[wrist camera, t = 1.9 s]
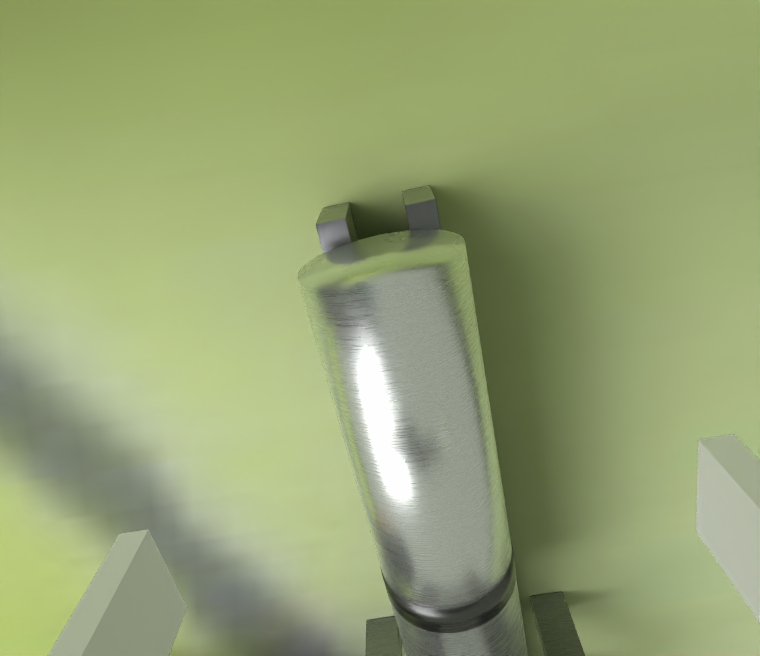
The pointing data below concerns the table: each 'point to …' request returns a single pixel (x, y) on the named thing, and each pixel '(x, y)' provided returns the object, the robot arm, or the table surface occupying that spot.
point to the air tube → (420, 435)
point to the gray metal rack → (547, 609)
